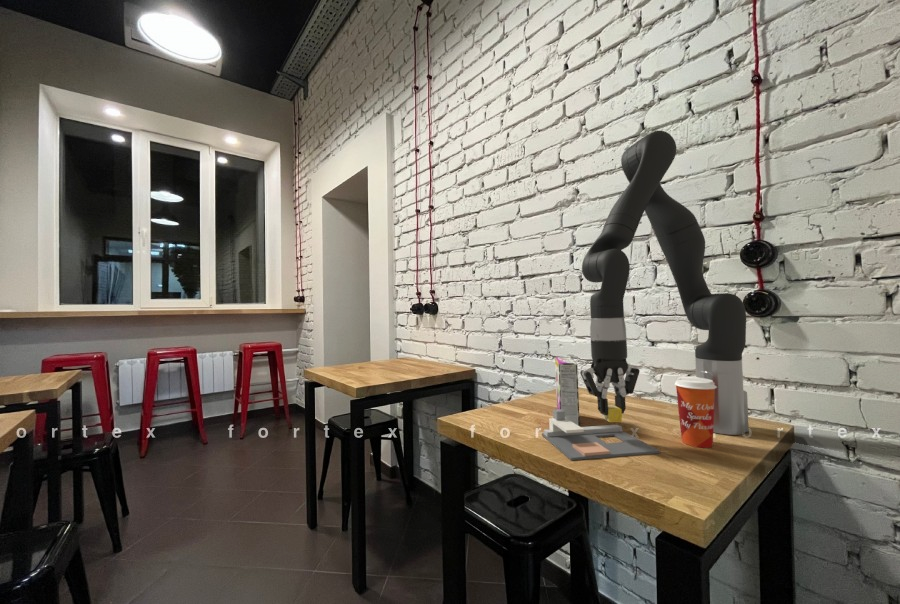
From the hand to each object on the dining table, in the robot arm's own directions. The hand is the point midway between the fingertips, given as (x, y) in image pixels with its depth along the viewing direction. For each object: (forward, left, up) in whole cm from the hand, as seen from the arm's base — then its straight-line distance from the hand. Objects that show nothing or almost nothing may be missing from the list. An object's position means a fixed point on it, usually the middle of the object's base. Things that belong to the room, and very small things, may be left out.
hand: (611, 413), depth 81 cm
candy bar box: (+3, -16, -6) cm, 18 cm away
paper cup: (-17, +5, -6) cm, 19 cm away
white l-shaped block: (+10, -2, -5) cm, 12 cm away
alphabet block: (0, 0, -2) cm, 2 cm away
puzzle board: (+4, +1, -6) cm, 8 cm away
